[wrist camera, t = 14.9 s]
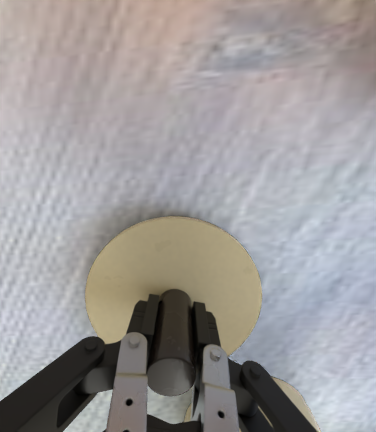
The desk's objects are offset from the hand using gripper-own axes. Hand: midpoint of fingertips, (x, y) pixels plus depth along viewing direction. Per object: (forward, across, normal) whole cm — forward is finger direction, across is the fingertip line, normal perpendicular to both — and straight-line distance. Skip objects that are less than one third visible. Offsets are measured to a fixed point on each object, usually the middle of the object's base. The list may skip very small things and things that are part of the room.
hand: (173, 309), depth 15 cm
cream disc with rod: (+1, 0, 0) cm, 1 cm away
